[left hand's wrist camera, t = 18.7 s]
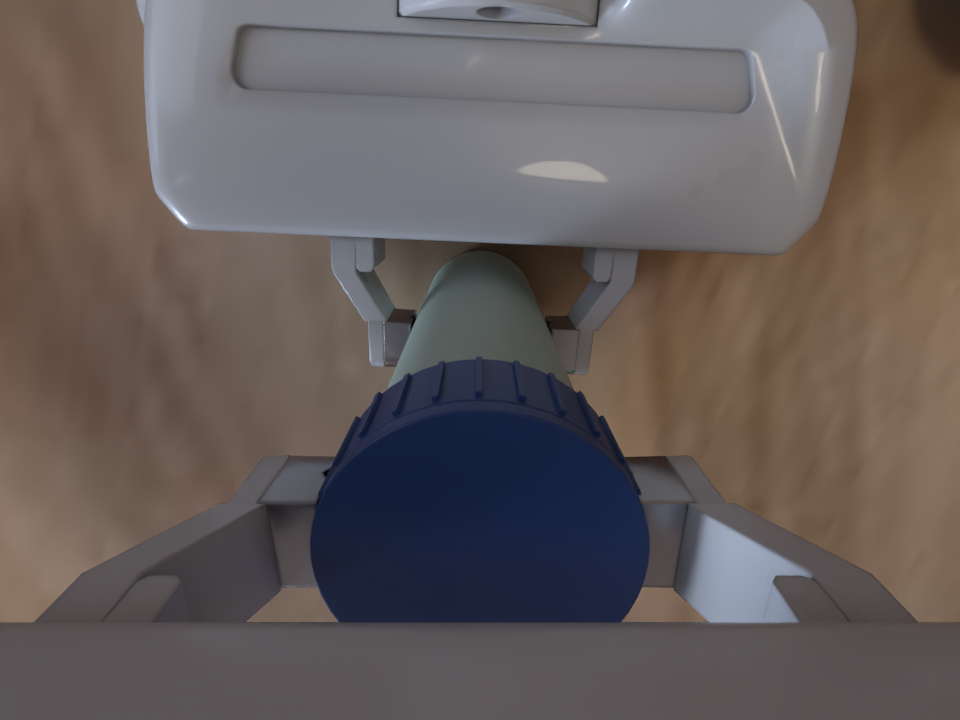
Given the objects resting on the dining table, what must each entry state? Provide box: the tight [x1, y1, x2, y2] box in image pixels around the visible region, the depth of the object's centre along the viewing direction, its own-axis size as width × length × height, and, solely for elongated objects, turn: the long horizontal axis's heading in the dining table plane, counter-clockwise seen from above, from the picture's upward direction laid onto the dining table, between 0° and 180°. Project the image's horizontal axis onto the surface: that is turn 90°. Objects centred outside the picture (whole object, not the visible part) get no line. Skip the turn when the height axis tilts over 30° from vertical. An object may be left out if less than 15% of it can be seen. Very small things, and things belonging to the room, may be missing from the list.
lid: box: [310, 357, 650, 622], centre depth 9 cm, size 6×6×2 cm
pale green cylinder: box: [387, 251, 574, 390], centre depth 16 cm, size 5×5×16 cm
